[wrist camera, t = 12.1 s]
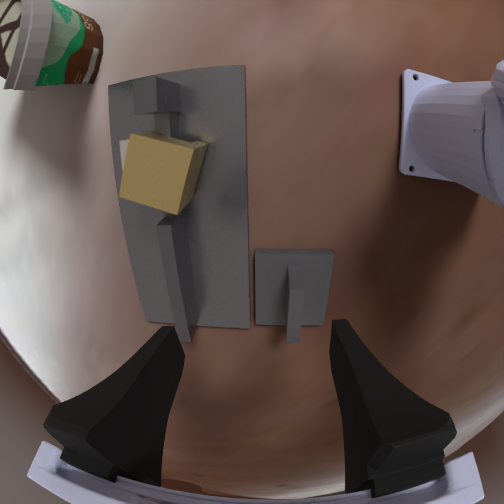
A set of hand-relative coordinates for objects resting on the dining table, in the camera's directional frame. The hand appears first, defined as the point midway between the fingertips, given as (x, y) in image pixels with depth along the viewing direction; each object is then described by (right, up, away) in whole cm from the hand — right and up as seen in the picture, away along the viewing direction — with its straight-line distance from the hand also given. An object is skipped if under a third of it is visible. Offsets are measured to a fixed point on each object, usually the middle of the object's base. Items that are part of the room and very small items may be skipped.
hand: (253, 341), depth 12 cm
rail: (-5, +7, +8) cm, 12 cm away
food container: (-15, +22, +2) cm, 26 cm away
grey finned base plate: (+3, +1, +11) cm, 11 cm away
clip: (-5, +10, +6) cm, 13 cm away
